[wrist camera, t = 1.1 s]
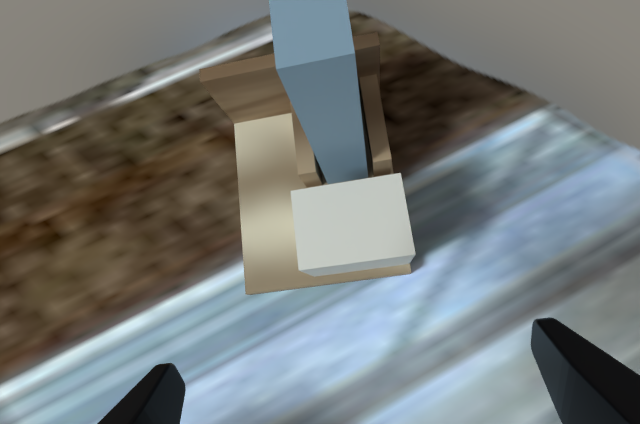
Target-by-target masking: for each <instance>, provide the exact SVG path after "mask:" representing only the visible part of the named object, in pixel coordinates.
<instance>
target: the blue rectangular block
mask: <svg viewBox="0 0 640 424" xmlns="http://www.w3.org/2000/svg"><path fill="white" fill-rule="evenodd" d="M269 5H270V15H271V25H272V35H273V44H274V54H275V64H276V70H277V73H278V75H279V77H280V79H281V81H282V84H283V86H284V88H285V90H286V92H287V95H288V97H289V99H290V101H291V104H292V106H293V108H294V110H295V112H296V115H297V117H298V119H299V121H300V123H301V126H302V128H303V130H304V132H305V134H306V137H307V139H308V141H309V143H310V146H311V148H312V150H313V152H314V154H315V157H316V159H317V161H318V163H319V165H320V168H321V170H322V172H323V174H324V177H325V179H326V181H327V183H328V184H333V183H339V182H345V181H351V180H357V179H363V178H368V171H367V161H366V152H365V143H364V133H363V124H362V115H361V105H360V96H359V87H358V78H357V68H356V59H355V51H354V45H353V39H352V33H351V26H350V20H349V14H348V8H347V2H346V0H269Z"/></svg>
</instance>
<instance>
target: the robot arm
mask: <svg viewBox="0 0 640 424" xmlns="http://www.w3.org/2000/svg"><path fill="white" fill-rule="evenodd" d="M531 349H532V353H533V355H534V358H535V360H536V363H537V365H538V367H539V370H540V372H541V375H542V377H543V379H544V382H545V384H546V387H547V389H548V392H549V394H550V396H551V399H552V401H553V404H554V406H555V409H556V411H557V413H558V415H559V418H560V420H561V422H562V424H640V375H638V374H637V373H635V372H634V371H632V370H631V369H629V368H628V367H627V366H625V365H624V364H622V363H621V362H619V361H618V360H616V359H615V358H613V357H612V356H610V355H609V354H607V353H606V352H604V351H603V350H601V349H600V348H598V347H597V346H595V345H594V344H592V343H591V342H589V341H588V340H586V339H585V338H583V337H582V336H580V335H579V334H577V333H576V332H574V331H573V330H571V329H570V328H568V327H567V326H565V325H564V324H562V323H561V322H559V321H558V320H556V319H554V318H542V319H536V320H534V322H533V325H532V336H531ZM184 396H185V383H184V381H183V379H182V377H181V375H180V374H179V372H178V370H177V368H176V367H175V365H174V364H172V363H166V364H159V365H156V366H155V367H154V368H153V369H152V370H151V371H150V372H149V373H148V374H147V375H146V376H145V377H144V378H143V379H142V380H141V381H140V382H139V383H138V384H137V385H136V386H135V387H134V388H133V389H132V390H131V391H130V392H129V393H128V394H127V395H126V396H125V397H124V398H123V399H122V400H121V401H120V402H119V403H118V404H117V405H116V406H115V407H114V408H113V409H112V410H111V411H110V412H109V413H108V414H107V415H106V416H105V417H104V418H103V419H102V420H101V421H100V422H99V423H98V424H180V419H181V413H182V408H183V402H184Z"/></svg>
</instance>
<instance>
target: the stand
mask: <svg viewBox="0 0 640 424" xmlns="http://www.w3.org/2000/svg"><path fill="white" fill-rule="evenodd" d="M352 39H353V45H354V51H355V59H356V68H357V78H358V87H359V96H360V105H361V115H362V124H363V133H364V143H365V152H366V161H367V171H368V178H372V177H378V176H384V175H390V174H394V172H393V166H392V159H391V153H390V148H389V142H388V136H387V131H386V125H385V119H384V114H383V108H382V103H381V97H380V44H379V39H378V33H377V32H374V33H370V34H365V35H360V36H355V37H352ZM199 70H200V83H201V84H202V85H203V86H204V87H205V89H206V90H207V91H208V92H209V94H210V95H211V96H212V97H213V98H214V100H215V101H216V102H217V103H218V105H219V106H220V107H221V108H222V109H223V111H224V112H225V113H226V114H227V115H228V117H229V118H230V119H231V120H232V122H233V123H234V127H235V142H236V157H237V172H238V187H239V202H240V216H241V231H242V246H243V261H244V276H245V291H246V294H247V295H253V294H261V293H269V292H276V291H284V290H292V289H299V288H307V287H315V286H322V285H330V284H338V283H345V282H353V281H361V280H368V279H376V278H384V277H391V276H399V275H407V274H411V267H410V263H409V264H406V265H398V266H391V267H383V268H376V269H368V270H361V271H353V272H346V273H339V274H331V275H324V276H316V277H314V276H311V275H309V274H306V273H304V272H301V271H299V269H298V259H297V249H296V240H295V230H294V220H293V211H292V201H291V191H293V190H299V189H305V188H311V187H317V186H323V185H329V184H328V183H327V181H326V179H325V177H324V174H323V172H322V170H321V168H320V165H319V163H318V161H317V159H316V157H315V154H314V152H313V150H312V148H311V146H310V143H309V141H308V139H307V137H306V134H305V132H304V130H303V128H302V126H301V123H300V121H299V119H298V117H297V115H296V112H295V110H294V108H293V106H292V104H291V101H290V99H289V97H288V95H287V92H286V90H285V88H284V86H283V84H282V81H281V79H280V77H279V75H278V73H277V70H276V64H275V54H270V55H265V56H260V57H256V58H251V59H246V60H241V61H237V62H232V63H227V64H222V65H218V66H213V67H208V68H203V69H199ZM363 179H366V178H363ZM357 180H360V179H357ZM351 181H354V180H351ZM345 182H348V181H345ZM339 183H342V182H339ZM333 184H335V183H333Z"/></svg>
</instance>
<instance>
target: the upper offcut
mask: <svg viewBox="0 0 640 424" xmlns="http://www.w3.org/2000/svg"><path fill="white" fill-rule="evenodd" d="M291 201H292V211H293V220H294V230H295V240H296V249H297V259H298V269H299V271H301V272H304V273H306V274H311V273H318V272H325V271H333V270H340V269H348V268H355V267H362V266H370V265H377V264H385V263H392V262H400V261H407V260H412V259H413V258H414V256H415V255H416V254H415V248H414V243H413V237H412V232H411V226H410V221H409V215H408V210H407V204H406V199H405V193H404V188H403V182H402V177H401V173H397V174H390V175H384V176H378V177H372V178H366V179H360V180H354V181H348V182H342V183H335V184H329V185H323V186H317V187H311V188H305V189H299V190H293V191H291Z"/></svg>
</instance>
